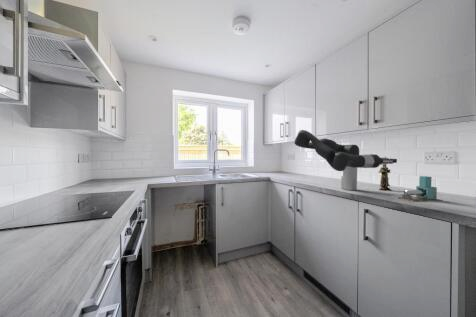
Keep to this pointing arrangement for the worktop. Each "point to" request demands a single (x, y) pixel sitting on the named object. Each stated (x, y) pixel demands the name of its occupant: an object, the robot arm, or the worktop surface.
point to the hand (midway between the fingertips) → (395, 160)
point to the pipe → (417, 193)
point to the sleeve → (425, 187)
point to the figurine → (384, 178)
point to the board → (420, 199)
